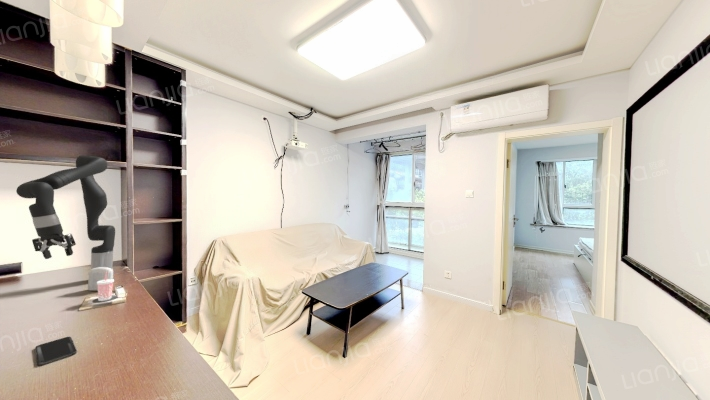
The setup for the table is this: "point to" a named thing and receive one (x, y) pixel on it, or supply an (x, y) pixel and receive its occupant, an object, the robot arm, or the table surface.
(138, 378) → the table surface
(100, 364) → the table surface
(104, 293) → the beverage cup
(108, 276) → the photo printer
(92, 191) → the robot arm
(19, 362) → the table surface
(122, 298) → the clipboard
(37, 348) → the phone
